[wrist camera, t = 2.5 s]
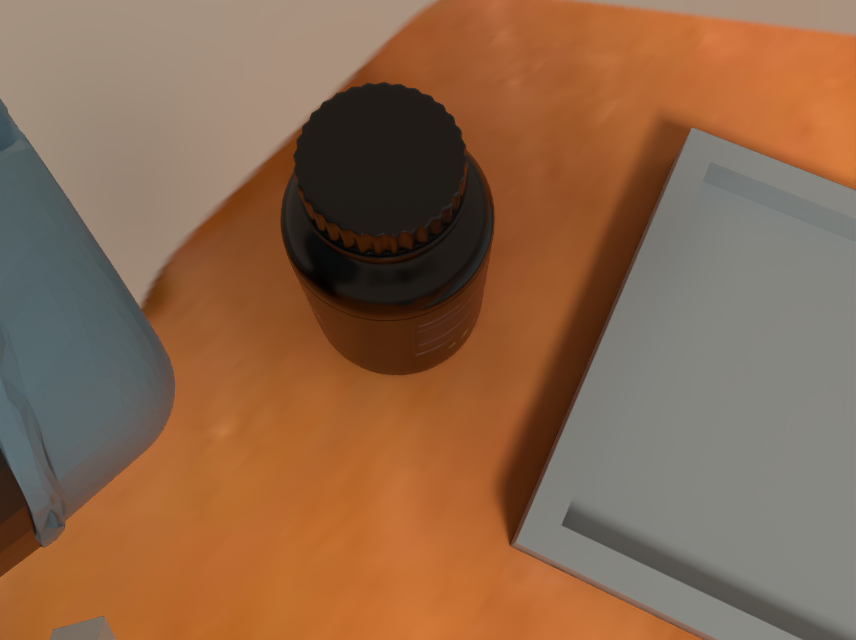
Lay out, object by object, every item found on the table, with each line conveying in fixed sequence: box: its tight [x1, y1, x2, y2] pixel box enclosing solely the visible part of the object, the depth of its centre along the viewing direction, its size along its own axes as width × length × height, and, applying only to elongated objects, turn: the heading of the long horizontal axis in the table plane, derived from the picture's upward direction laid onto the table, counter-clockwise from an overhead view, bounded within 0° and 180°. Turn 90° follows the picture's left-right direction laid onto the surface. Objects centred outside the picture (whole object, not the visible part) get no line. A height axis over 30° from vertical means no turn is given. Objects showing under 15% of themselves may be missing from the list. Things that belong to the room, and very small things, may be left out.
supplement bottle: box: [281, 82, 495, 375], centre depth 27 cm, size 7×7×12 cm
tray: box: [510, 127, 856, 640], centre depth 30 cm, size 18×18×2 cm
